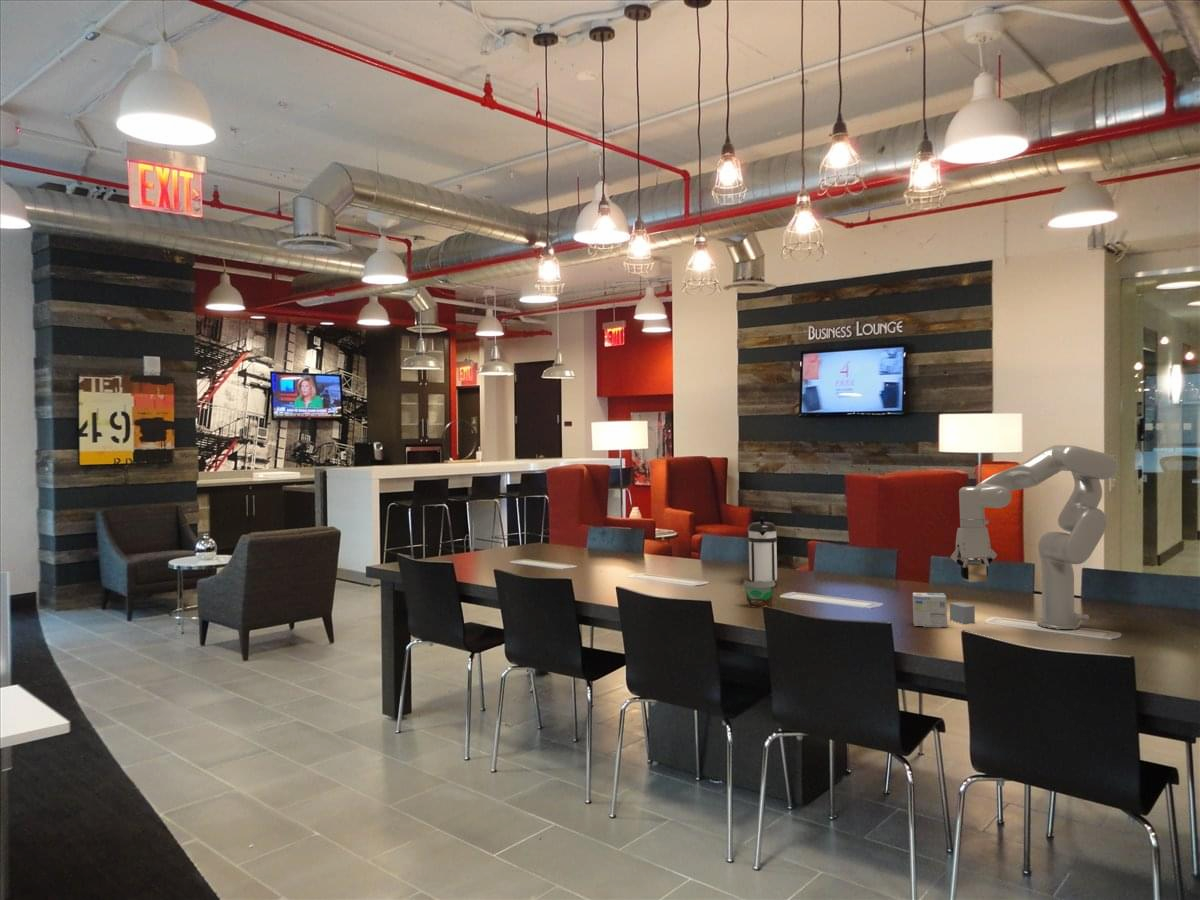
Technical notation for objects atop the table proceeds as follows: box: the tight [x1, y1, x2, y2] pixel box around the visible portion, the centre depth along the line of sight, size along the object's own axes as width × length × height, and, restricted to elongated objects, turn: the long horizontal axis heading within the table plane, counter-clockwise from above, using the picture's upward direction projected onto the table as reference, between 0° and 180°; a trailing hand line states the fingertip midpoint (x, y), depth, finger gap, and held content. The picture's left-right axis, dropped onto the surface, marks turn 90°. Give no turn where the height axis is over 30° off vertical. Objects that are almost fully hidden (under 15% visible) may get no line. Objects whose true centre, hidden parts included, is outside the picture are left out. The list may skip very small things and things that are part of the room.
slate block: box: [949, 601, 976, 625], centre depth 291 cm, size 4×7×6 cm, turn 16°
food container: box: [743, 579, 776, 608], centre depth 323 cm, size 12×6×10 cm, turn 76°
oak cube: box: [962, 561, 988, 583], centre depth 277 cm, size 6×6×6 cm
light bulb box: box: [912, 592, 948, 628], centre depth 286 cm, size 11×7×11 cm, turn 74°
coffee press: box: [747, 516, 778, 586], centre depth 370 cm, size 17×16×30 cm
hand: (974, 577), depth 277 cm, fingers closed on oak cube, 5 cm apart
